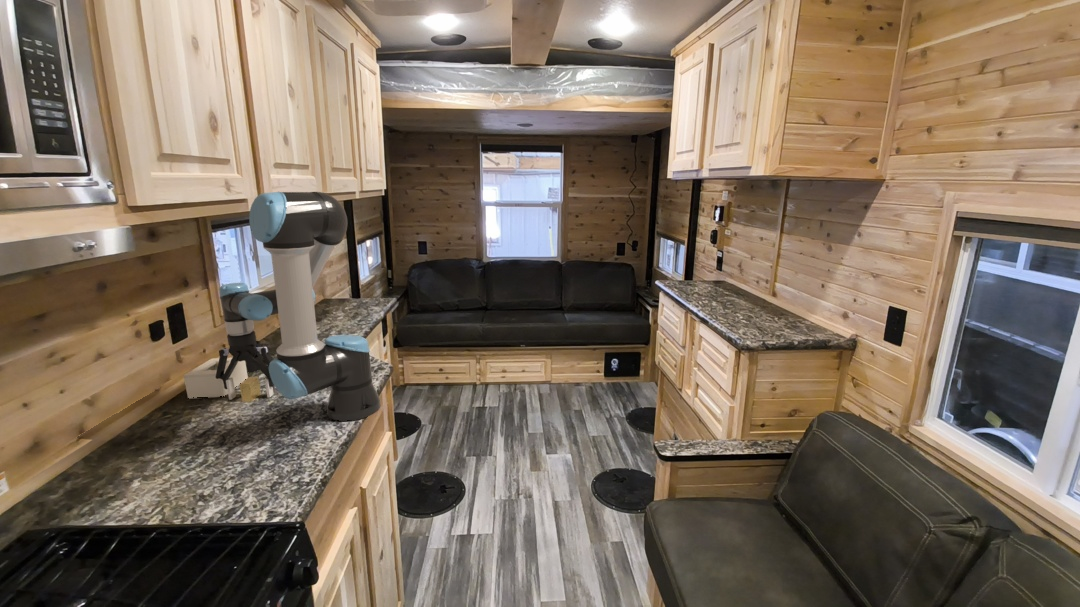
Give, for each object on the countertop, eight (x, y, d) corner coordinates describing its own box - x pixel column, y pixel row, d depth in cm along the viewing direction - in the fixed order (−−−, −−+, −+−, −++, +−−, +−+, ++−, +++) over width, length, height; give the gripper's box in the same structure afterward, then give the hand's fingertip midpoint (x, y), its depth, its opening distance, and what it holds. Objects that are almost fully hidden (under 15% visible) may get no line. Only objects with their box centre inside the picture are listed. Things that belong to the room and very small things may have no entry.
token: (252, 401, 151) (249, 383, 149) (242, 401, 151) (239, 384, 149) (261, 393, 157) (258, 376, 155) (251, 394, 156) (248, 377, 155)
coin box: (224, 396, 155) (219, 373, 153) (188, 398, 153) (183, 375, 152) (248, 377, 170) (244, 356, 168) (215, 379, 169) (211, 358, 167)
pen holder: (251, 374, 173) (247, 348, 171) (229, 373, 175) (224, 347, 172) (269, 365, 182) (266, 340, 180) (248, 364, 184) (244, 340, 181)
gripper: (284, 327, 153) (293, 390, 158) (208, 330, 151) (219, 394, 156) (274, 334, 146) (284, 399, 151) (193, 337, 144) (206, 404, 149)
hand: (251, 396), depth 154 cm, fingers open, 11 cm apart
